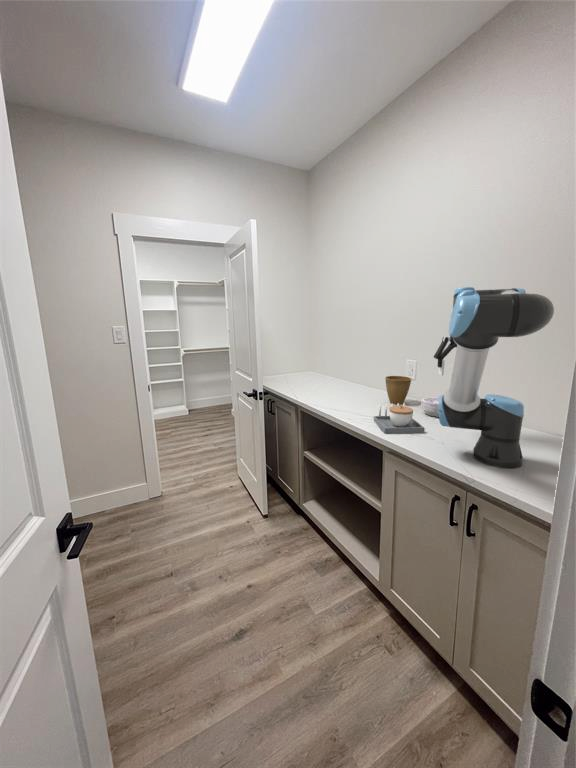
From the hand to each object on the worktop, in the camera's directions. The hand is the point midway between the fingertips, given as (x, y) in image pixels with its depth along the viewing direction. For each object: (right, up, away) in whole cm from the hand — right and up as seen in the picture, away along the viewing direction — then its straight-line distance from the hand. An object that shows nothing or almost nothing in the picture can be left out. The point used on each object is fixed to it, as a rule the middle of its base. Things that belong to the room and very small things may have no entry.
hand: (456, 374), depth 135 cm
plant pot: (-7, -16, +53) cm, 56 cm away
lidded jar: (-20, -24, +12) cm, 33 cm away
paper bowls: (+6, -21, +31) cm, 38 cm away
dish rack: (-21, -25, +13) cm, 35 cm away
